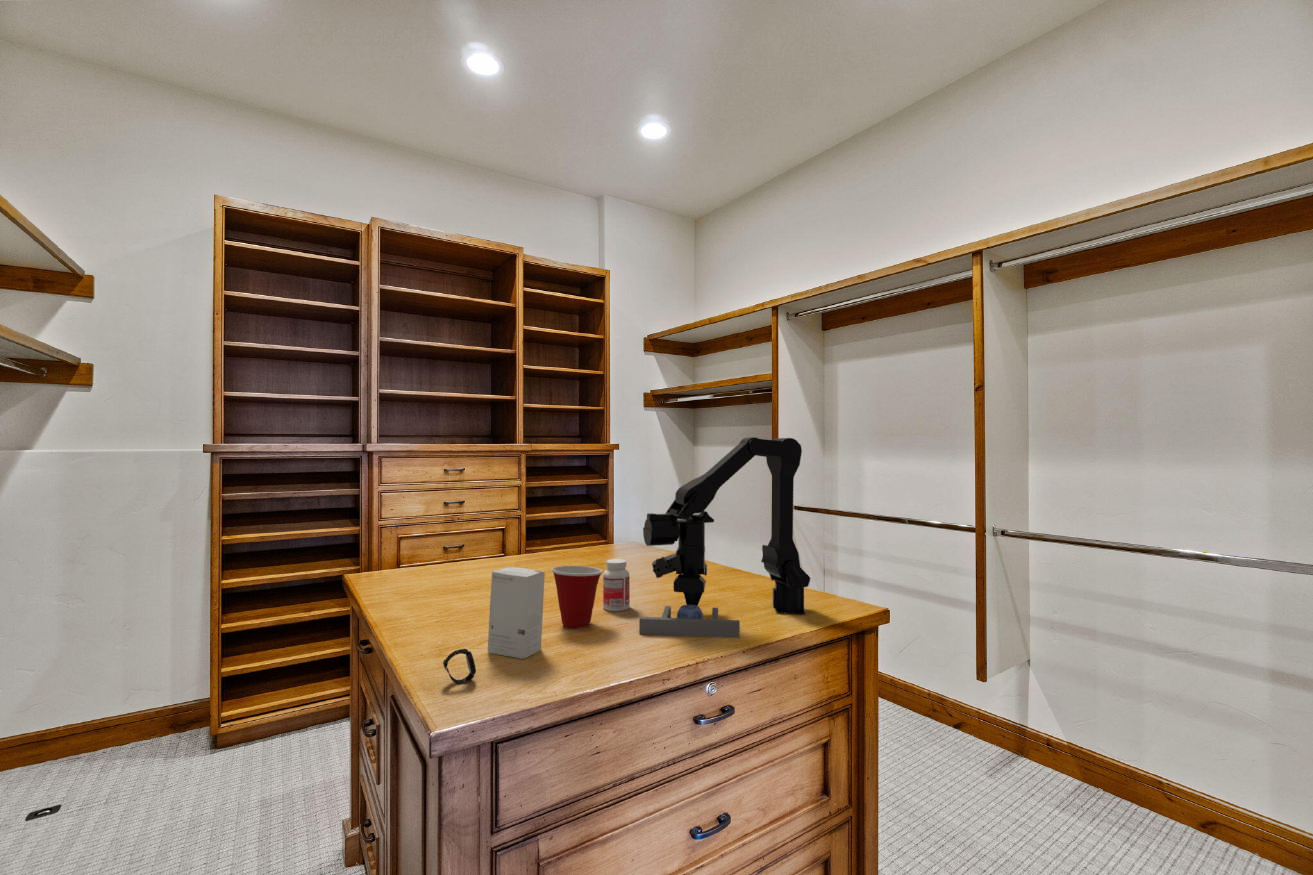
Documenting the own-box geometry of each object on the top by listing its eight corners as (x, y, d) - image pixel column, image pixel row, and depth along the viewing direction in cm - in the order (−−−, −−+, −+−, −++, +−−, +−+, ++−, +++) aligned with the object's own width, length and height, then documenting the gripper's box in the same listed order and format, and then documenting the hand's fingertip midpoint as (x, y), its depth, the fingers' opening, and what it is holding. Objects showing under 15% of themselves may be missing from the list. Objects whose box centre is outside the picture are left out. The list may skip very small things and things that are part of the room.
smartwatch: (473, 686, 88) (474, 654, 88) (439, 687, 88) (440, 655, 88) (479, 676, 92) (480, 645, 93) (447, 676, 92) (447, 646, 92)
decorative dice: (690, 622, 121) (690, 603, 121) (703, 626, 118) (703, 607, 118) (676, 625, 119) (676, 606, 119) (689, 630, 116) (689, 610, 116)
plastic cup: (613, 624, 120) (613, 567, 120) (573, 636, 112) (573, 575, 112) (580, 613, 127) (580, 560, 128) (540, 624, 119) (541, 567, 120)
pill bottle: (619, 603, 136) (619, 557, 137) (634, 608, 132) (634, 561, 132) (597, 607, 132) (598, 560, 133) (612, 613, 128) (613, 564, 128)
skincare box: (486, 653, 102) (487, 571, 103) (507, 643, 108) (507, 565, 108) (525, 660, 99) (526, 575, 100) (544, 649, 105) (545, 568, 105)
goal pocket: (738, 622, 121) (738, 608, 121) (739, 637, 111) (739, 622, 111) (645, 618, 124) (646, 605, 124) (639, 633, 114) (639, 618, 114)
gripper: (659, 535, 133) (659, 602, 133) (648, 550, 115) (648, 627, 114) (707, 536, 132) (707, 604, 131) (704, 551, 113) (703, 630, 113)
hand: (691, 615), depth 123 cm, fingers closed
